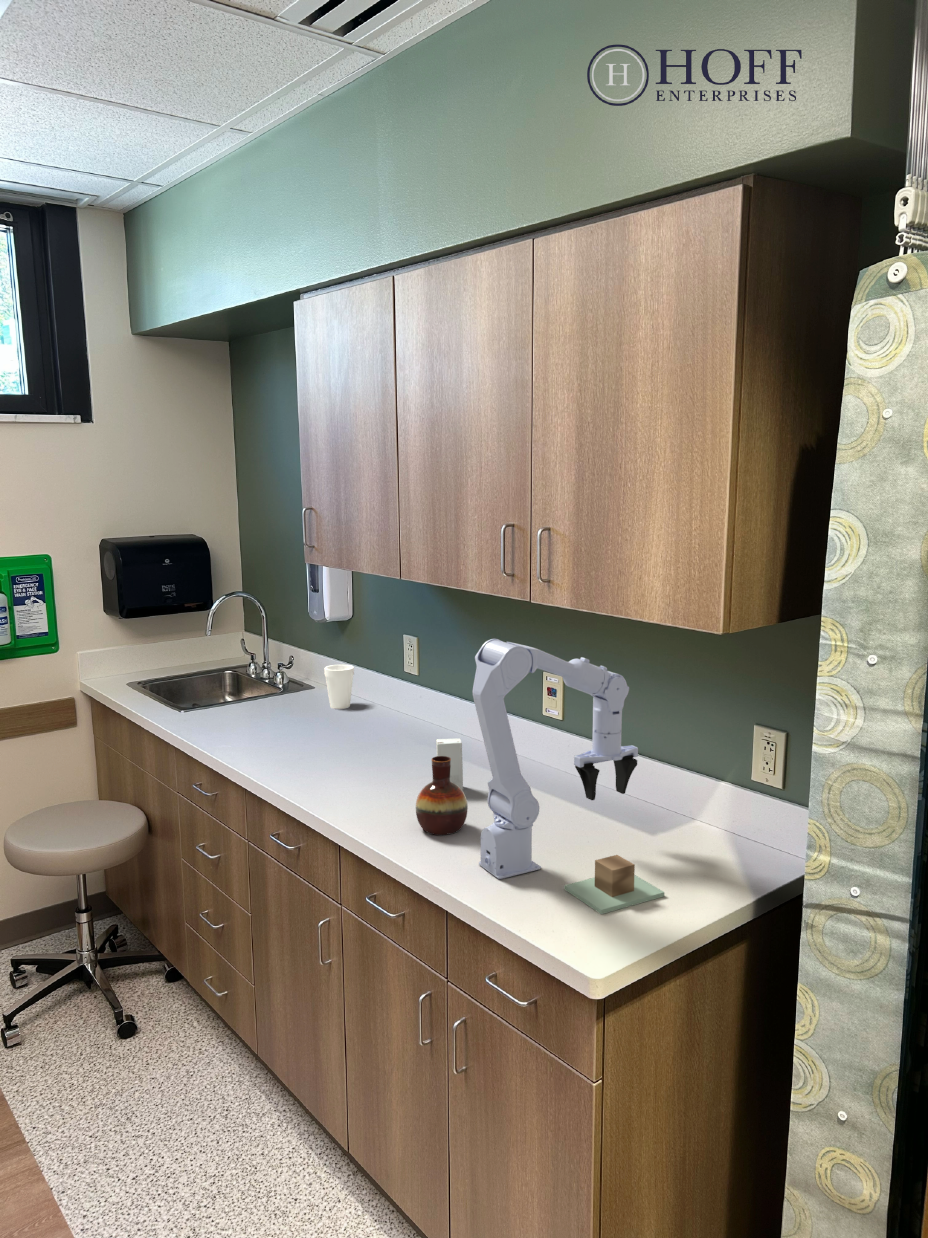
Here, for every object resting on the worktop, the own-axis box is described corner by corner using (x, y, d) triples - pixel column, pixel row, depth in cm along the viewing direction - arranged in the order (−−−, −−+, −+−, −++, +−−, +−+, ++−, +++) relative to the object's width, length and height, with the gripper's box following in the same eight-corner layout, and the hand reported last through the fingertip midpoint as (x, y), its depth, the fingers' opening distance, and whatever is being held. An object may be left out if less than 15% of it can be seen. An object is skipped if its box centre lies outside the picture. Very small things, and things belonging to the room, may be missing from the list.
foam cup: (323, 704, 304) (322, 665, 302) (351, 702, 306) (350, 663, 304) (328, 711, 295) (327, 671, 293) (356, 709, 297) (355, 669, 295)
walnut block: (611, 897, 163) (612, 870, 162) (594, 886, 167) (595, 860, 166) (634, 891, 165) (634, 864, 164) (616, 880, 170) (617, 854, 169)
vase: (406, 833, 194) (405, 763, 192) (430, 815, 204) (429, 748, 202) (454, 841, 190) (454, 769, 187) (475, 823, 200) (475, 754, 197)
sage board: (601, 914, 158) (601, 910, 158) (564, 889, 168) (564, 885, 168) (664, 896, 165) (664, 892, 165) (625, 873, 174) (625, 869, 174)
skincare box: (461, 785, 224) (461, 737, 222) (463, 791, 220) (463, 742, 218) (436, 786, 223) (435, 738, 221) (437, 792, 219) (437, 743, 217)
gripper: (589, 740, 177) (588, 808, 180) (648, 730, 184) (646, 795, 186) (568, 731, 184) (567, 797, 186) (626, 722, 190) (624, 785, 193)
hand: (605, 795), depth 186 cm, fingers open, 7 cm apart
